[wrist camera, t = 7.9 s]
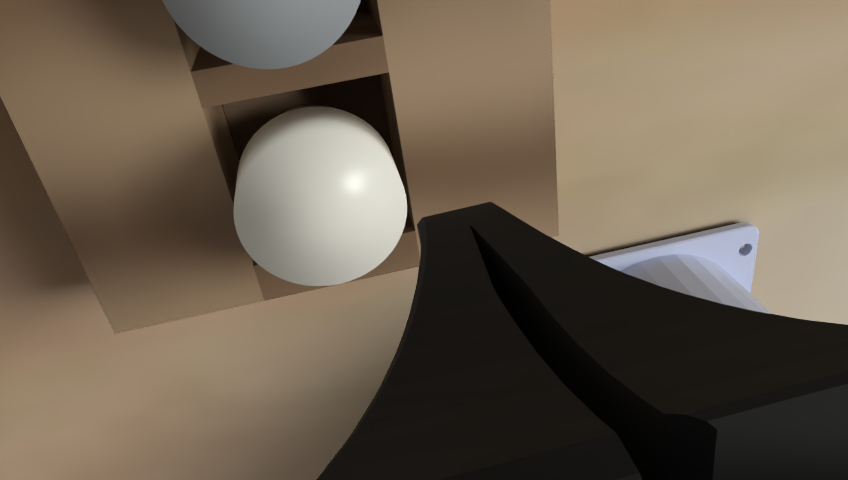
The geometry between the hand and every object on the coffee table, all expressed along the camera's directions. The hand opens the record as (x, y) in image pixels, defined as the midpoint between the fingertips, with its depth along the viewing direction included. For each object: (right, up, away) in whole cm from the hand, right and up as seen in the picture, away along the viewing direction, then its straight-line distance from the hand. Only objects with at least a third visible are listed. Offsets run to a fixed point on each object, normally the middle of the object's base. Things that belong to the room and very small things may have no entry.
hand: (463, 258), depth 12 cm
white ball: (-4, +3, +7) cm, 9 cm away
